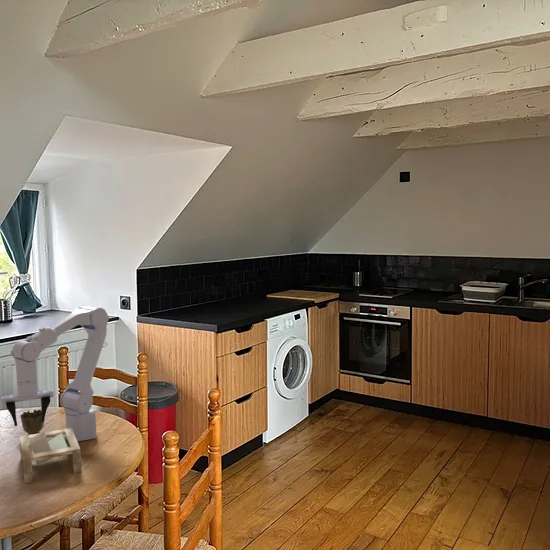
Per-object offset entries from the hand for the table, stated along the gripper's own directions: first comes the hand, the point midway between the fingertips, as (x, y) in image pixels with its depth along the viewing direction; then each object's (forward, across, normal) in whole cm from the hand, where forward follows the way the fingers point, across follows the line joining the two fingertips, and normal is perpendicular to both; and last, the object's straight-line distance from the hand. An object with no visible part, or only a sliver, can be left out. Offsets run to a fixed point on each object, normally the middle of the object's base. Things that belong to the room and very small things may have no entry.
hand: (29, 423), depth 174 cm
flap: (+8, +6, -10) cm, 14 cm away
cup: (+11, +2, +16) cm, 19 cm away
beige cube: (+6, +3, -10) cm, 12 cm away
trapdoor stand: (+10, +4, -10) cm, 15 cm away
